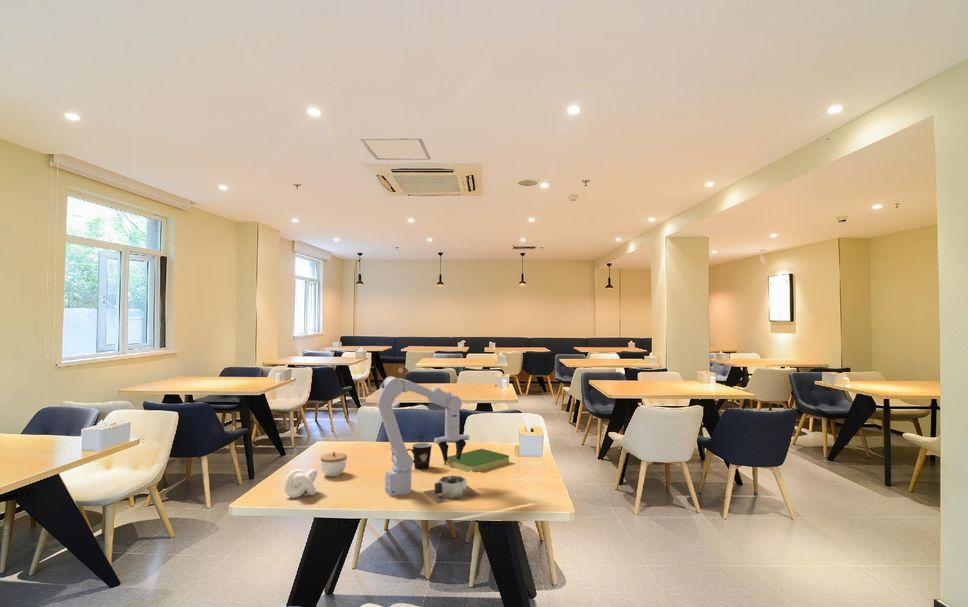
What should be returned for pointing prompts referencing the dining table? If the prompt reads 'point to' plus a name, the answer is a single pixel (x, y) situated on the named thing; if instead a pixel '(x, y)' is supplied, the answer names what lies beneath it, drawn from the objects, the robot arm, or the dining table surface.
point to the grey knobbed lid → (452, 480)
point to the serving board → (439, 499)
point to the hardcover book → (477, 460)
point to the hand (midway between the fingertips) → (451, 460)
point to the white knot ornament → (300, 483)
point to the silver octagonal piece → (451, 487)
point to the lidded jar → (333, 463)
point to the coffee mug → (421, 455)
